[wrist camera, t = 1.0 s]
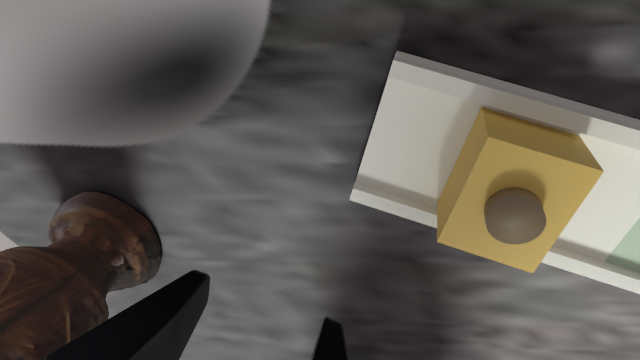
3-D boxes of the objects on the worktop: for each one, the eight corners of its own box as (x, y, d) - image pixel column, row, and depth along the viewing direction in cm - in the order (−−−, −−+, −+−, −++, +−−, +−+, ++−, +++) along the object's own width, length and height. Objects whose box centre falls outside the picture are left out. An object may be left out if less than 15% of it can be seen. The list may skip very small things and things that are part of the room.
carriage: (520, 229, 19) (536, 287, 16) (437, 202, 20) (436, 254, 17) (579, 135, 17) (612, 183, 14) (481, 107, 17) (490, 146, 14)
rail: (715, 298, 20) (763, 361, 17) (354, 183, 22) (341, 222, 19) (846, 178, 16) (937, 233, 13) (396, 50, 18) (388, 73, 15)
